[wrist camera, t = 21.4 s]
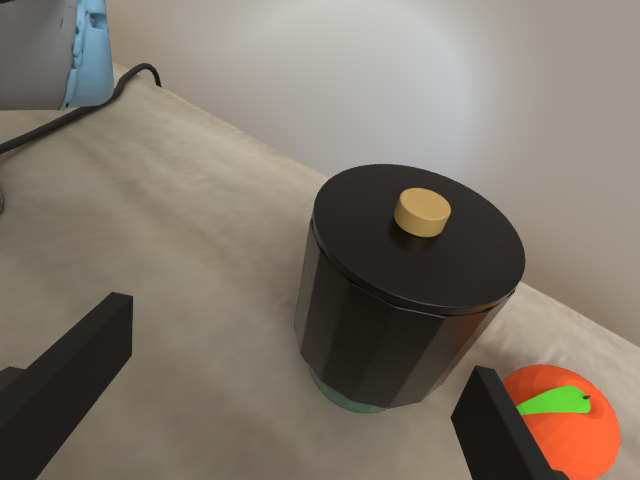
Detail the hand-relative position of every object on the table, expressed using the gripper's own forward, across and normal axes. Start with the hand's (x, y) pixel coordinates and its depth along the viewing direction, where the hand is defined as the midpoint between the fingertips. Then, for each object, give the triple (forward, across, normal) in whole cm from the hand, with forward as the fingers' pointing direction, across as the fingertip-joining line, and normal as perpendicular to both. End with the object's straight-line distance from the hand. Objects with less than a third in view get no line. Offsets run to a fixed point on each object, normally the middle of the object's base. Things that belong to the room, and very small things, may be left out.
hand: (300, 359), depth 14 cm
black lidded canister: (+10, +5, -5) cm, 13 cm away
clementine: (+8, +17, -10) cm, 22 cm away
